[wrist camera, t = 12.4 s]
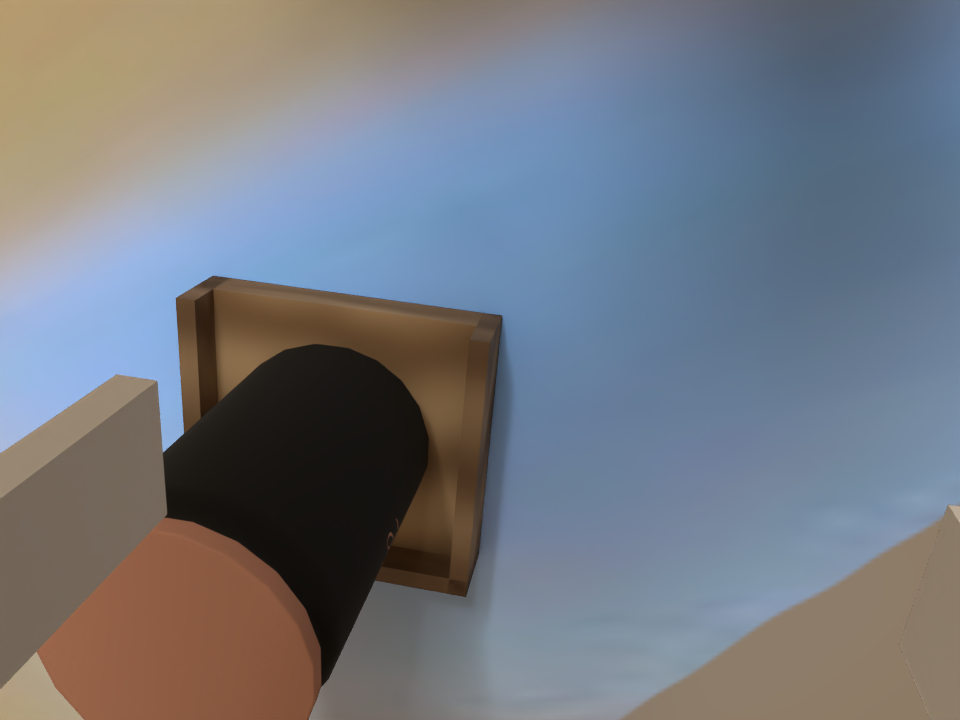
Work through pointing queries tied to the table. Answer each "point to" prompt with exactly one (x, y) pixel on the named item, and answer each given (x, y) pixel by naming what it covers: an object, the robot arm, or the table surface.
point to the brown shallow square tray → (401, 349)
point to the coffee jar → (253, 549)
